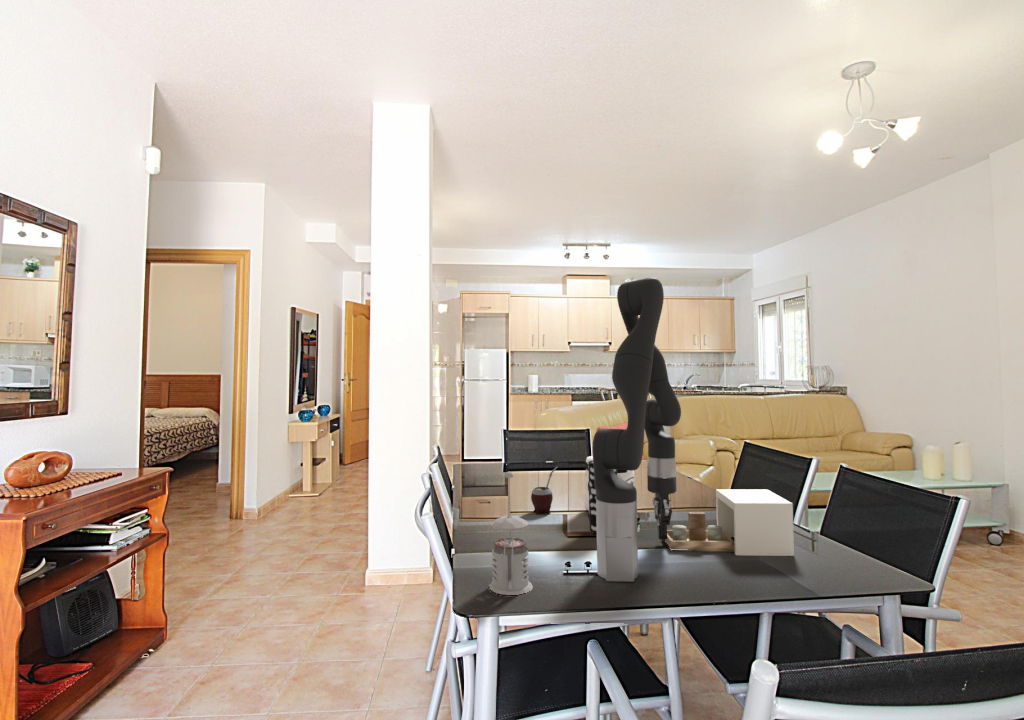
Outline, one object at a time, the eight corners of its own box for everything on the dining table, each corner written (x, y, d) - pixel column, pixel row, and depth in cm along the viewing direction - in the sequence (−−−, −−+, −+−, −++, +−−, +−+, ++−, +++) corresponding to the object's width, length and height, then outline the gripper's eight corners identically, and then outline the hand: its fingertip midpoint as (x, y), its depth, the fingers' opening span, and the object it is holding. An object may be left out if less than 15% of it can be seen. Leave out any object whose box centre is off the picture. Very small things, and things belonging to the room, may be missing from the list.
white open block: (794, 555, 136) (792, 503, 136) (736, 555, 137) (734, 503, 137) (768, 536, 152) (767, 489, 152) (717, 536, 153) (715, 489, 153)
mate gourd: (527, 513, 180) (526, 467, 180) (540, 508, 186) (539, 464, 187) (546, 516, 176) (545, 469, 176) (559, 511, 182) (558, 466, 182)
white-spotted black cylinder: (617, 527, 163) (615, 459, 163) (619, 535, 154) (618, 464, 155) (588, 526, 164) (587, 459, 164) (590, 535, 155) (588, 464, 156)
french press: (533, 578, 123) (531, 467, 124) (533, 599, 112) (531, 477, 112) (489, 578, 124) (488, 467, 124) (485, 599, 112) (483, 477, 113)
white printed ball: (642, 520, 170) (641, 462, 170) (586, 520, 170) (585, 462, 171) (632, 506, 187) (631, 453, 187) (581, 506, 188) (580, 454, 188)
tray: (671, 551, 141) (670, 517, 141) (662, 539, 151) (662, 508, 151) (734, 551, 140) (733, 518, 140) (722, 539, 150) (721, 508, 150)
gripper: (643, 469, 153) (643, 531, 153) (652, 478, 140) (653, 546, 140) (670, 469, 153) (671, 531, 152) (682, 478, 140) (682, 547, 139)
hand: (662, 538), depth 146 cm, fingers closed
